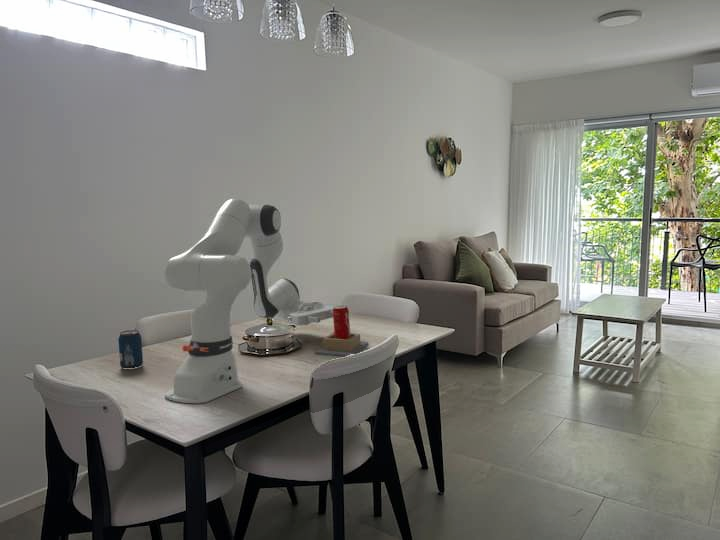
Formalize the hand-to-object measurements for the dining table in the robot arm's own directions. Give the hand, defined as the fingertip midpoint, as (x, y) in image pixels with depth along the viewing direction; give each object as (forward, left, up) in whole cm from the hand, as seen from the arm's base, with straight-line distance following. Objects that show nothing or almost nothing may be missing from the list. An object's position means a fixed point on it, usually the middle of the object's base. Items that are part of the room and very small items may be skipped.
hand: (328, 318), depth 198 cm
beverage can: (-3, -7, -10) cm, 12 cm away
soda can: (-44, +52, -11) cm, 69 cm away
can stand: (-3, -7, -10) cm, 13 cm away
